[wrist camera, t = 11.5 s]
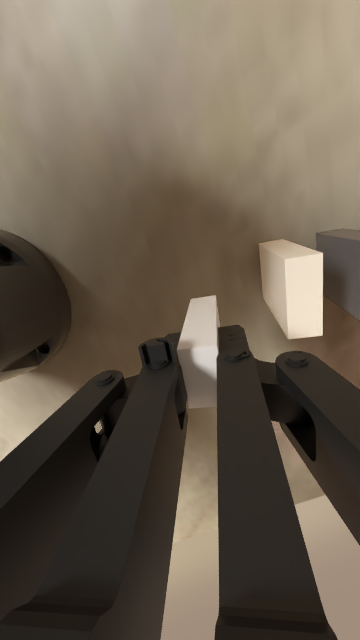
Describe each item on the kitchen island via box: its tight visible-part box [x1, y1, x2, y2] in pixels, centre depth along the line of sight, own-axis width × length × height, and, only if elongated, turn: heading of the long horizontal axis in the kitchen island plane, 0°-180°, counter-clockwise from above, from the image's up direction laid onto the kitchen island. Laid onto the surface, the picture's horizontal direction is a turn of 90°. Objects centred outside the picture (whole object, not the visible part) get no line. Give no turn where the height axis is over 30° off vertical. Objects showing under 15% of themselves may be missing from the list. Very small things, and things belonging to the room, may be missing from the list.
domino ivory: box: [259, 239, 323, 339], centre depth 19 cm, size 2×5×9 cm, turn 11°
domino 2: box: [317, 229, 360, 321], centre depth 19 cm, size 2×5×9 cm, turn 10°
